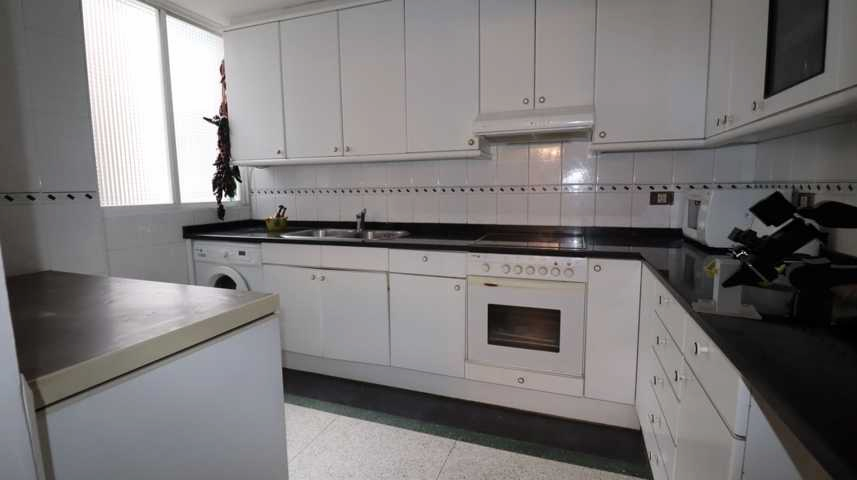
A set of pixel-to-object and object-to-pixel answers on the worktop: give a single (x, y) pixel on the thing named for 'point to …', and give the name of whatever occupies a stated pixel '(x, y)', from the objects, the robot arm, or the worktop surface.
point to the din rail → (710, 307)
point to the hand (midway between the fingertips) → (720, 283)
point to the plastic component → (711, 275)
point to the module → (726, 297)
